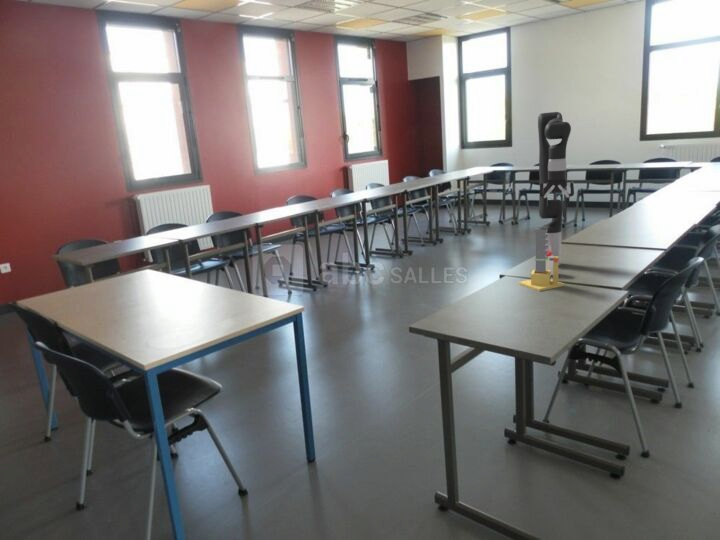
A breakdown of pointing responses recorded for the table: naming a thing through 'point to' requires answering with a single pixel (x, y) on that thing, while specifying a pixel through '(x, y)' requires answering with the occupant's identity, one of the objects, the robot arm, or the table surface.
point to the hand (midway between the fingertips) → (556, 205)
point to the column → (541, 249)
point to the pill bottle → (549, 262)
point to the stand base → (544, 278)
